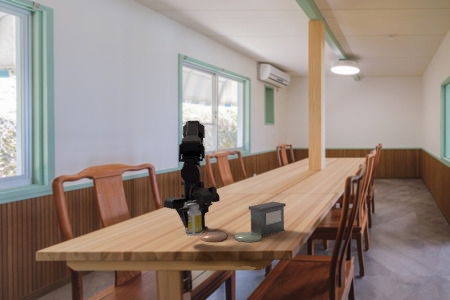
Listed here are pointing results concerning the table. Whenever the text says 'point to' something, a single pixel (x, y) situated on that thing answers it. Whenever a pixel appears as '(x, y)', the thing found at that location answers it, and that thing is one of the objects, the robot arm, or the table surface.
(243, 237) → the sage coaster
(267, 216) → the box unit
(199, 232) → the supplement bottle
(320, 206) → the table surface
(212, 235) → the peach domed disc
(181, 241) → the table surface
